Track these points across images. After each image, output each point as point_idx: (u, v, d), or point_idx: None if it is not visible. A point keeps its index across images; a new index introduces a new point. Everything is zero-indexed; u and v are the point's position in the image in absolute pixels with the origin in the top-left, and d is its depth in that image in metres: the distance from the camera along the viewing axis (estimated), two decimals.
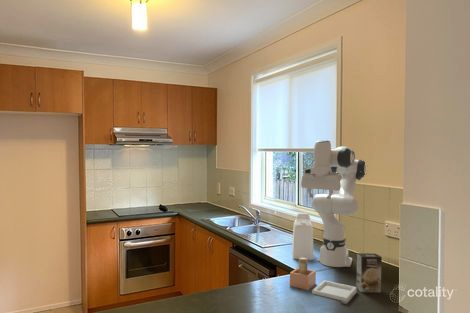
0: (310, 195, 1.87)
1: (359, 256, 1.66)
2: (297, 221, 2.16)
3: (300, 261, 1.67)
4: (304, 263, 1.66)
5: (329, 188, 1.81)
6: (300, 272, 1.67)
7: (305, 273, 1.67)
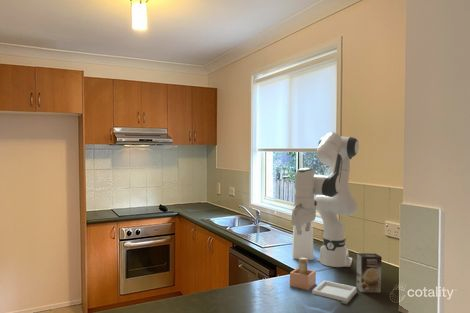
0: None
1: (359, 256, 1.66)
2: None
3: (300, 261, 1.67)
4: (304, 263, 1.66)
5: None
6: (300, 272, 1.67)
7: (305, 273, 1.67)
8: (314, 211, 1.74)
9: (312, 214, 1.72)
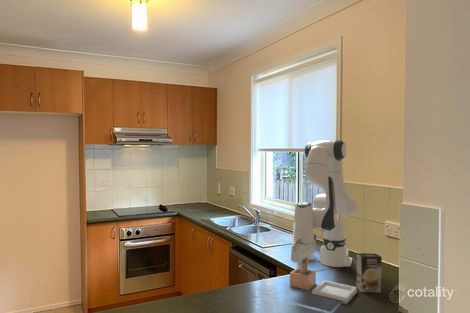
0: None
1: (359, 256, 1.66)
2: None
3: None
4: (304, 263, 1.66)
5: None
6: (300, 272, 1.67)
7: (305, 273, 1.67)
8: (313, 244, 1.74)
9: (311, 248, 1.72)
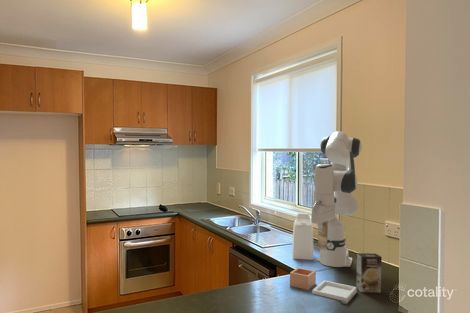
0: None
1: (359, 256, 1.66)
2: (297, 221, 2.16)
3: None
4: (324, 226, 1.61)
5: None
6: (320, 235, 1.62)
7: (325, 236, 1.61)
8: (333, 208, 1.68)
9: (332, 211, 1.67)
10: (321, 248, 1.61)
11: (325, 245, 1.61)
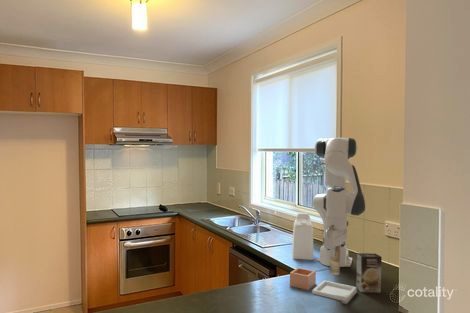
0: None
1: (359, 256, 1.66)
2: (297, 221, 2.16)
3: None
4: (336, 250, 1.58)
5: None
6: (332, 260, 1.59)
7: (338, 261, 1.58)
8: (345, 231, 1.65)
9: (343, 235, 1.64)
10: (333, 273, 1.58)
11: (337, 270, 1.58)
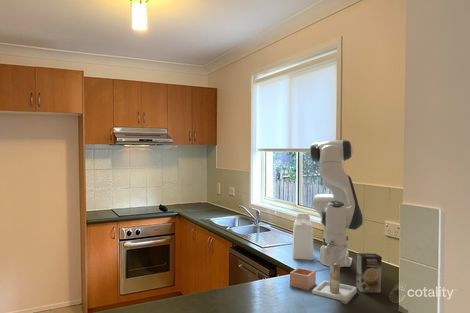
0: None
1: (359, 256, 1.66)
2: (297, 221, 2.16)
3: None
4: (336, 269, 1.58)
5: None
6: (332, 278, 1.59)
7: (337, 279, 1.58)
8: (345, 246, 1.66)
9: (343, 249, 1.64)
10: (333, 291, 1.58)
11: (337, 288, 1.58)
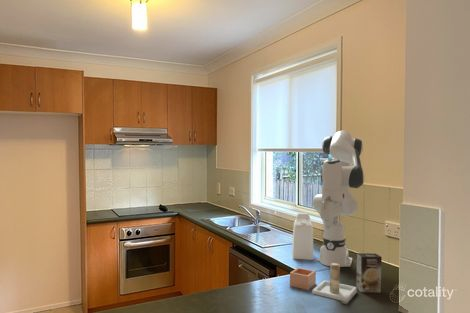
0: None
1: (359, 256, 1.66)
2: (297, 221, 2.16)
3: (332, 267, 1.59)
4: (336, 269, 1.58)
5: None
6: (332, 279, 1.59)
7: (337, 280, 1.58)
8: (341, 204, 1.68)
9: (340, 207, 1.66)
10: (333, 292, 1.58)
11: (337, 289, 1.58)
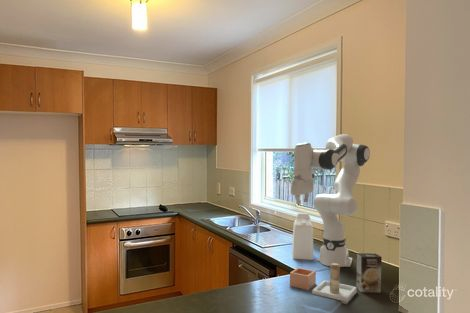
0: None
1: (359, 256, 1.66)
2: (297, 221, 2.16)
3: (332, 267, 1.59)
4: (336, 269, 1.58)
5: None
6: (332, 279, 1.59)
7: (337, 280, 1.58)
8: (312, 183, 1.87)
9: (310, 186, 1.85)
10: (333, 292, 1.58)
11: (337, 289, 1.58)
